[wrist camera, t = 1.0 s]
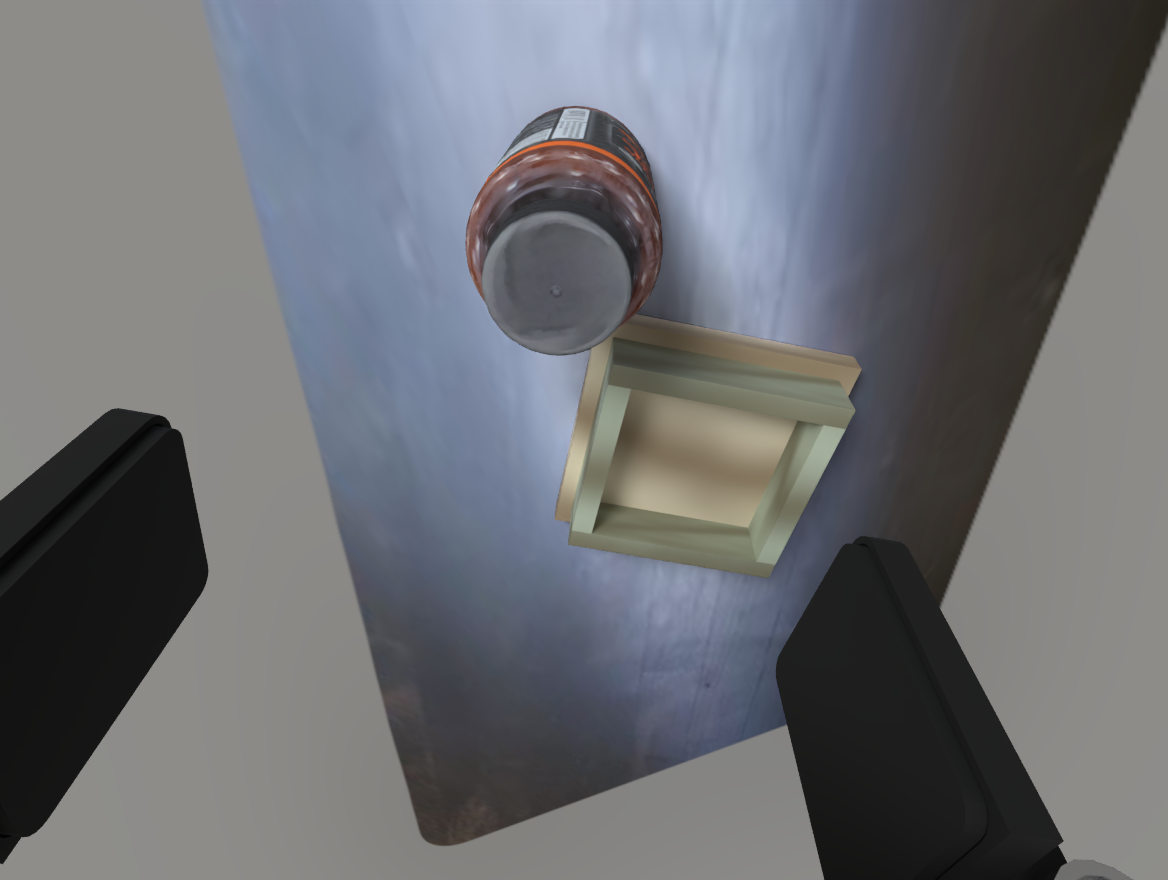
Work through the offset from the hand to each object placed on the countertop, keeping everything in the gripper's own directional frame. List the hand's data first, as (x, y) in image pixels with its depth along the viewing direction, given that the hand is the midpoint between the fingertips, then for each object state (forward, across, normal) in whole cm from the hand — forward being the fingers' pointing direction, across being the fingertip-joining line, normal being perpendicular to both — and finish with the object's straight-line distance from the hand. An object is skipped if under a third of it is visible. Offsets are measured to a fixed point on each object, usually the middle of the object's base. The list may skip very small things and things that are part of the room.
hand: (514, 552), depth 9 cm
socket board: (+21, -8, +11) cm, 25 cm away
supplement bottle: (+21, 0, 0) cm, 21 cm away
